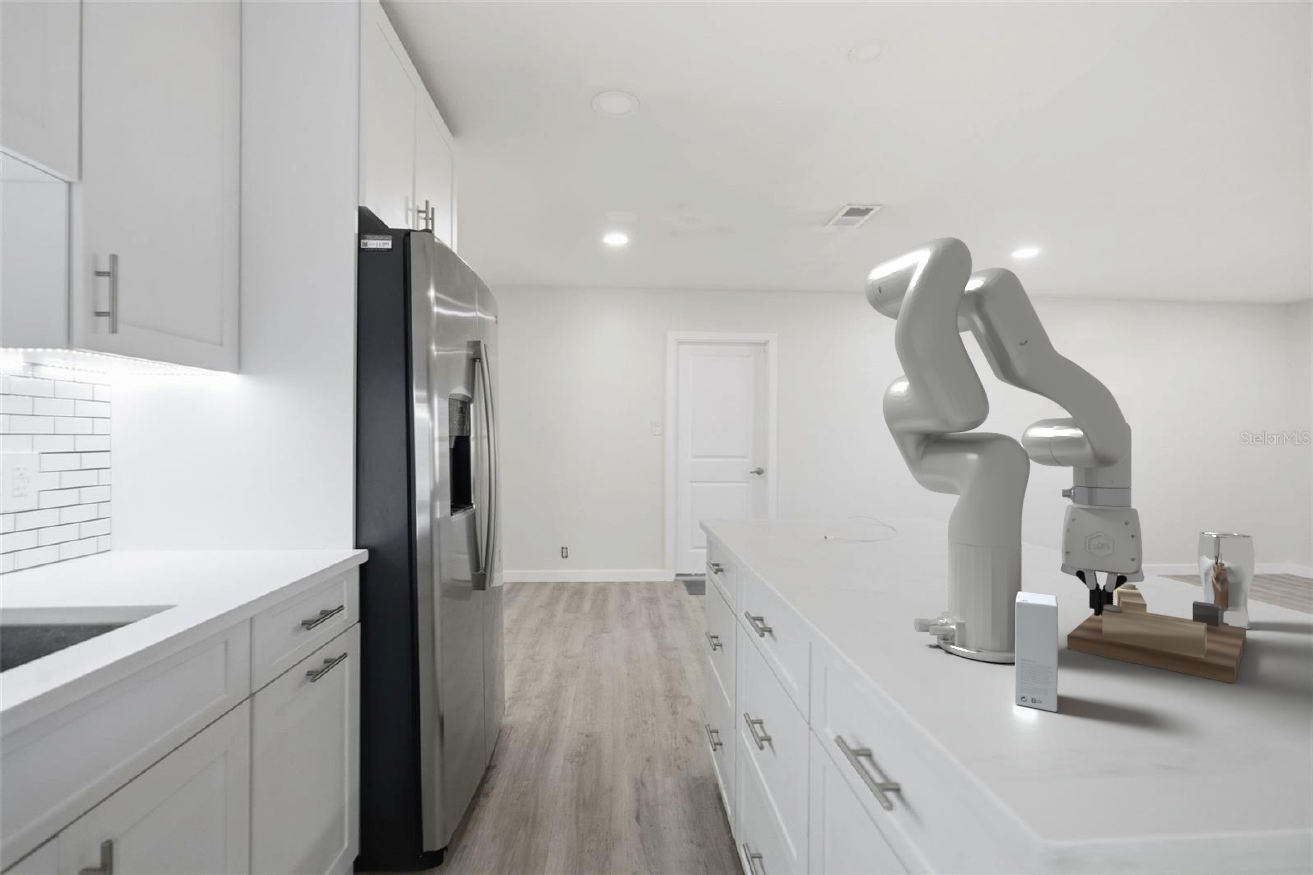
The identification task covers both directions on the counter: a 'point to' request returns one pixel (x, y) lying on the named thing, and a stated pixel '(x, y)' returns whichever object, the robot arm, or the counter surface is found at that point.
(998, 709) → the counter surface
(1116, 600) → the hinged leg
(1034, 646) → the skincare box
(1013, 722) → the counter surface
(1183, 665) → the stool frame
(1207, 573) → the beer glass
